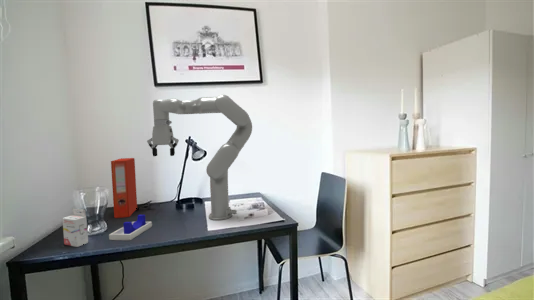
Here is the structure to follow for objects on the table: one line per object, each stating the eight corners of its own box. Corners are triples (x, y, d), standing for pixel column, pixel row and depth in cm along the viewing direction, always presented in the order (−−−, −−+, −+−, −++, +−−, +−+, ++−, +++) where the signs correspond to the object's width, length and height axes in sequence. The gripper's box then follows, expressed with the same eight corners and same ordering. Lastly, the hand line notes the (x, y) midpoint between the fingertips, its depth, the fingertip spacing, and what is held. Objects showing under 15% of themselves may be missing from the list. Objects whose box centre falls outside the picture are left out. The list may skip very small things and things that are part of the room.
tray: (152, 226, 132) (151, 221, 132) (130, 240, 115) (129, 234, 115) (133, 226, 134) (133, 221, 133) (109, 240, 117) (108, 234, 117)
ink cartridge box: (63, 245, 113) (60, 211, 112) (75, 240, 118) (72, 207, 117) (77, 247, 110) (74, 212, 109) (89, 242, 115) (86, 209, 114)
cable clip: (137, 226, 131) (136, 214, 131) (145, 226, 131) (145, 214, 130) (121, 235, 120) (120, 222, 119) (130, 236, 119) (129, 223, 119)
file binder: (137, 208, 167) (134, 157, 165) (130, 216, 150) (126, 160, 148) (123, 209, 165) (120, 158, 163) (114, 218, 148) (110, 161, 146)
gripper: (180, 123, 143) (182, 154, 144) (150, 124, 145) (152, 155, 146) (173, 122, 135) (175, 156, 136) (142, 124, 137) (144, 156, 139)
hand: (163, 155), depth 141 cm, fingers open, 9 cm apart
